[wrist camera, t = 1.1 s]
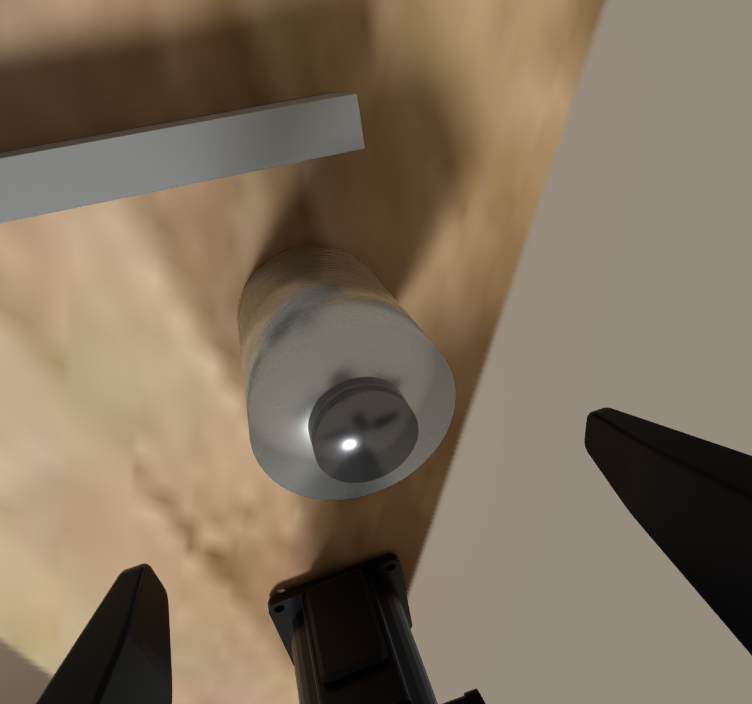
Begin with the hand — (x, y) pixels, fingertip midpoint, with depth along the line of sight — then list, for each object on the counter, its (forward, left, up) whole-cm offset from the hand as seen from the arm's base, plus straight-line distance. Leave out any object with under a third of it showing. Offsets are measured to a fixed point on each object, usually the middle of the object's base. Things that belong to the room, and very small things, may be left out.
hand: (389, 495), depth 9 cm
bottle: (0, 0, -8) cm, 8 cm away
